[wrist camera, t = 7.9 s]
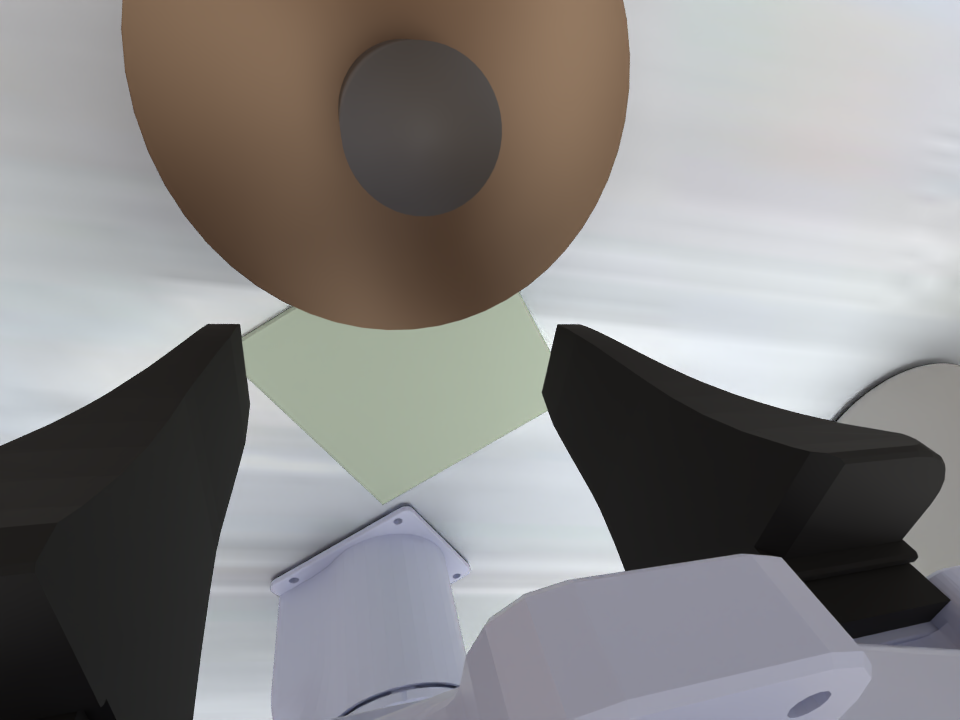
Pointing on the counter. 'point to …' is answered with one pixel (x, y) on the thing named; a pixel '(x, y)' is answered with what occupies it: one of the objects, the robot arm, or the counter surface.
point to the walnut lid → (382, 141)
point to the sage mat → (402, 388)
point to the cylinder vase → (941, 427)
